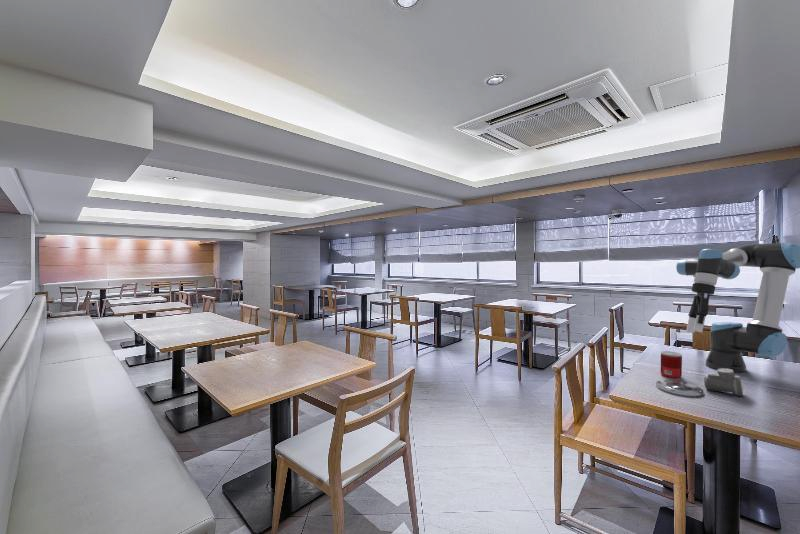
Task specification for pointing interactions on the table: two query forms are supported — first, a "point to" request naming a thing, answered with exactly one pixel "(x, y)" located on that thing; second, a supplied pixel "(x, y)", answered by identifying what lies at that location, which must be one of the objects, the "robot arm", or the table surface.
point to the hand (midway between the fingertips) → (693, 331)
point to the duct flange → (679, 388)
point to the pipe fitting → (724, 382)
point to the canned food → (671, 364)
